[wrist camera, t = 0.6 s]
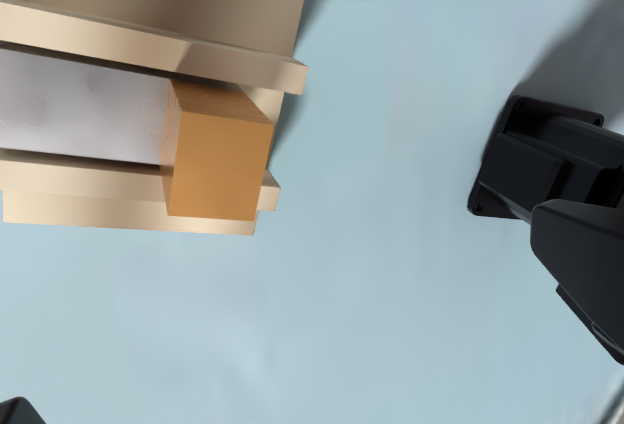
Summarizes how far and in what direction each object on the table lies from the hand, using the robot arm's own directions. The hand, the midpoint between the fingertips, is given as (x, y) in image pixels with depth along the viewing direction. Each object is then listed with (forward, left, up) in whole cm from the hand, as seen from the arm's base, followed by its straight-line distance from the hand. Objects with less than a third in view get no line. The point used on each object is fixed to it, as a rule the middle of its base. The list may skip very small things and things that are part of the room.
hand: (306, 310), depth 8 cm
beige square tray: (+2, 0, -13) cm, 13 cm away
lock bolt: (+3, 0, -12) cm, 12 cm away
